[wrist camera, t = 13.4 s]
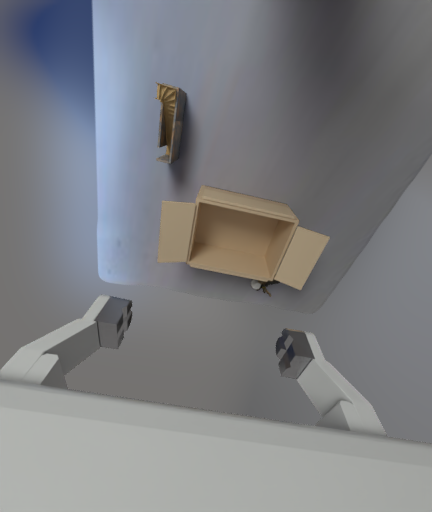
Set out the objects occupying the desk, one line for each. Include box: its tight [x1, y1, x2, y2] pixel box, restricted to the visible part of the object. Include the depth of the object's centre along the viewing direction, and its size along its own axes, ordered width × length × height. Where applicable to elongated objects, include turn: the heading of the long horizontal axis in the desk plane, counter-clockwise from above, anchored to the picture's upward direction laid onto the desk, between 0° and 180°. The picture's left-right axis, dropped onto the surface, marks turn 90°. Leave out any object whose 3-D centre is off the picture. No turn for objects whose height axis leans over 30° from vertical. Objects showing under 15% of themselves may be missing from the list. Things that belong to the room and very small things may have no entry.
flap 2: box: [274, 226, 330, 290], centre depth 44 cm, size 13×1×6 cm
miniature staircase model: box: [155, 82, 186, 164], centre depth 38 cm, size 11×3×10 cm, turn 167°
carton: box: [186, 185, 299, 282], centre depth 48 cm, size 16×20×10 cm
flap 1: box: [158, 201, 196, 263], centre depth 42 cm, size 13×1×6 cm
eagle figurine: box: [251, 274, 280, 297], centre depth 57 cm, size 8×7×9 cm
